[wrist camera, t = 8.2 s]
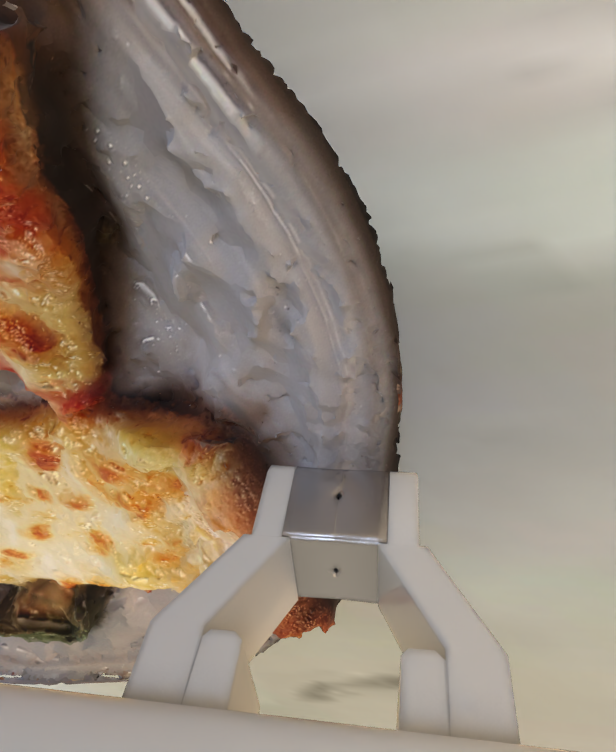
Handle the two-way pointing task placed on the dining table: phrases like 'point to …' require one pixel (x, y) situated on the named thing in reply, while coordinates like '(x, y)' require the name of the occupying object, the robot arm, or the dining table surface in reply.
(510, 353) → the dining table surface
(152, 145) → the food plate
